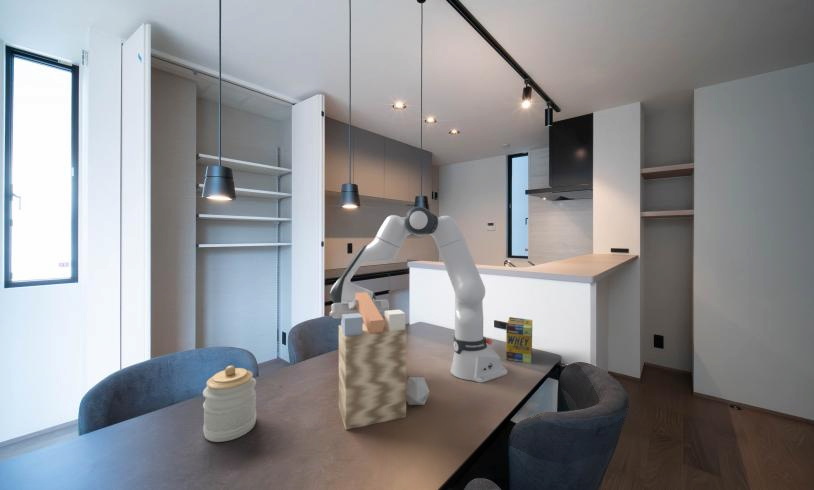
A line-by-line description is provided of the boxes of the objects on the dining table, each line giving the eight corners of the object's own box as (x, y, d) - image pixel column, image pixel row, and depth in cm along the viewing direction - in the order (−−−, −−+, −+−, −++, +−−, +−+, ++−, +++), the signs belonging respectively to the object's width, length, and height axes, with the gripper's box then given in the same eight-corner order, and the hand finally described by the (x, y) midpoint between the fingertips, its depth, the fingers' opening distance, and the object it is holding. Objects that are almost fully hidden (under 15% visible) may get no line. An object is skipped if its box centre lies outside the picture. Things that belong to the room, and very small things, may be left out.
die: (420, 415, 96) (436, 385, 99) (397, 399, 97) (413, 370, 100) (419, 410, 104) (434, 383, 107) (397, 395, 105) (412, 369, 108)
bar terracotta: (366, 302, 110) (367, 292, 110) (383, 332, 91) (383, 319, 91) (355, 303, 109) (355, 292, 108) (369, 333, 90) (370, 321, 89)
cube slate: (358, 329, 94) (358, 313, 94) (362, 334, 90) (362, 317, 89) (342, 331, 92) (341, 314, 92) (344, 336, 88) (344, 318, 88)
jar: (219, 450, 79) (218, 380, 79) (194, 432, 86) (193, 369, 86) (266, 423, 90) (265, 363, 90) (240, 410, 97) (239, 353, 97)
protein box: (505, 360, 137) (506, 325, 137) (508, 348, 151) (509, 316, 151) (531, 364, 133) (532, 328, 133) (532, 351, 147) (532, 319, 147)
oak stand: (392, 396, 106) (393, 320, 105) (406, 416, 94) (406, 330, 93) (338, 406, 99) (338, 325, 98) (345, 429, 88) (345, 337, 87)
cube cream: (399, 325, 99) (399, 309, 99) (405, 329, 94) (405, 313, 94) (384, 326, 97) (384, 310, 97) (389, 331, 92) (389, 314, 92)
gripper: (327, 307, 114) (331, 294, 102) (382, 303, 121) (391, 290, 110) (328, 324, 111) (333, 313, 99) (384, 319, 118) (394, 308, 107)
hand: (364, 301), depth 105 cm, fingers closed on bar terracotta, 4 cm apart
